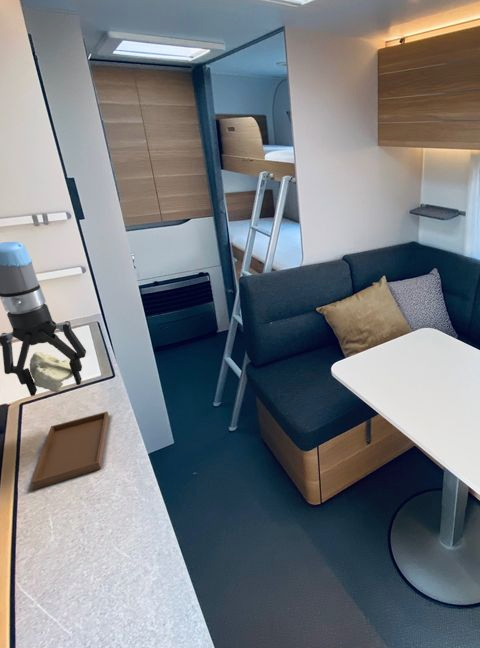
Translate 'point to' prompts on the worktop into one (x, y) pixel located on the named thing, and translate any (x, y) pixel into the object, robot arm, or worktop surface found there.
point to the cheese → (49, 371)
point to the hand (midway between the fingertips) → (57, 387)
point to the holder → (72, 450)
